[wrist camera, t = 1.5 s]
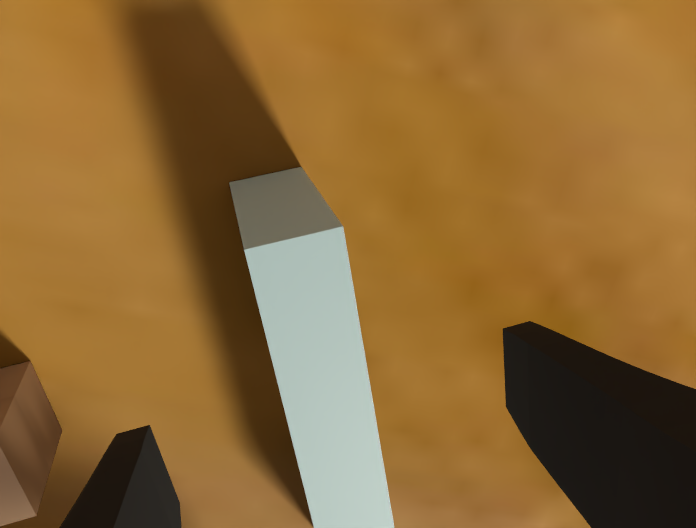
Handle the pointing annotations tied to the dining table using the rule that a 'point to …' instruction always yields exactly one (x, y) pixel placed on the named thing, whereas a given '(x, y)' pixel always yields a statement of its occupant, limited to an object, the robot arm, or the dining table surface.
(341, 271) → the pale green flat block
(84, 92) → the dining table surface
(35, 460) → the walnut rail
